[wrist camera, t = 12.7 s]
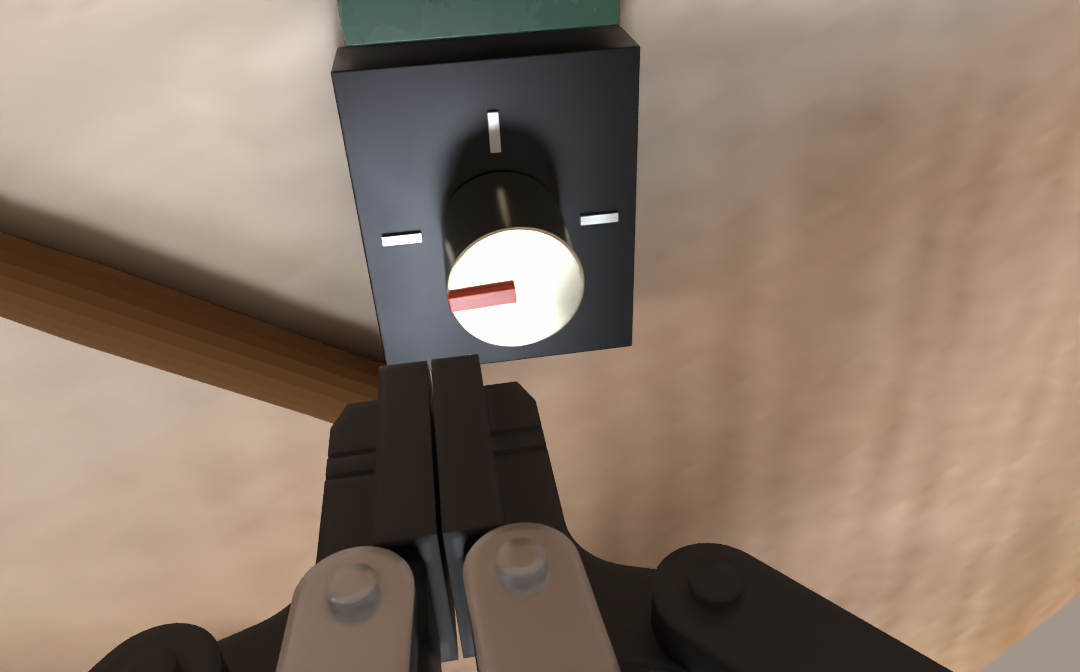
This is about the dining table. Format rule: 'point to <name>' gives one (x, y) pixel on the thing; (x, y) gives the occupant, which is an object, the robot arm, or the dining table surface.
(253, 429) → the dining table surface
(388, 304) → the panel
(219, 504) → the dining table surface
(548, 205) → the dial
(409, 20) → the switchbox
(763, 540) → the dining table surface
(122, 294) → the hammer
